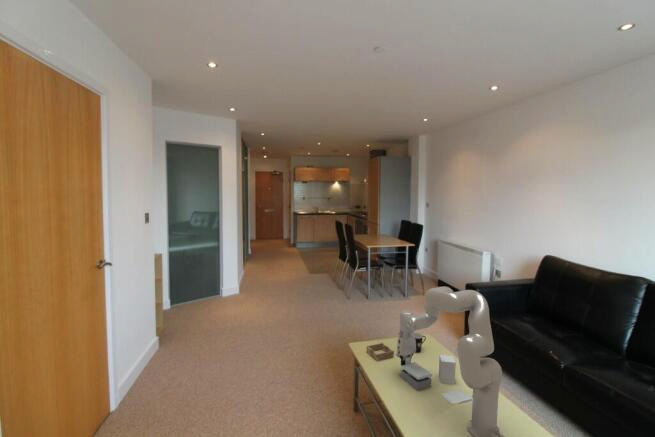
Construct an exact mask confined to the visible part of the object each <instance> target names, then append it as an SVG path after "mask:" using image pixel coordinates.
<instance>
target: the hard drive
mask: <svg viewBox="0 0 655 437" xmlns="http://www.w3.org/2000/svg"><path fill="white" fill-rule="evenodd" d="M440 396H441V397H442V398H443V399H445V400H446V402H448V403H449V404H450V405H454V404H458V405H462V404H466V403H469V402H472V400H473V398H472V397H470V396H469V395H468V394H467V393H465V392H464V391H463V390H461V389H455V390H452V391H449V392H448V391H447V392H444V393H440Z"/></svg>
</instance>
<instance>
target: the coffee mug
mask: <svg viewBox="0 0 655 437" xmlns="http://www.w3.org/2000/svg"><path fill="white" fill-rule="evenodd" d="M414 336H415V340H416V352H415V353H414V354H419V353H421V351H422V345H423V344H424V342H425V341H426V339H427V338H426V336H425V335H423V334H421V333H419V332H414Z"/></svg>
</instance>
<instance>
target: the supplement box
mask: <svg viewBox="0 0 655 437" xmlns="http://www.w3.org/2000/svg"><path fill="white" fill-rule="evenodd" d="M438 360H439V361H438V379H439V382H440V383H441V384H448V385H455V384H456V368H457V367H456V366H457V365H456V360H455V358H454V356H453V355H443V354H439V358H438Z"/></svg>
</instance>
